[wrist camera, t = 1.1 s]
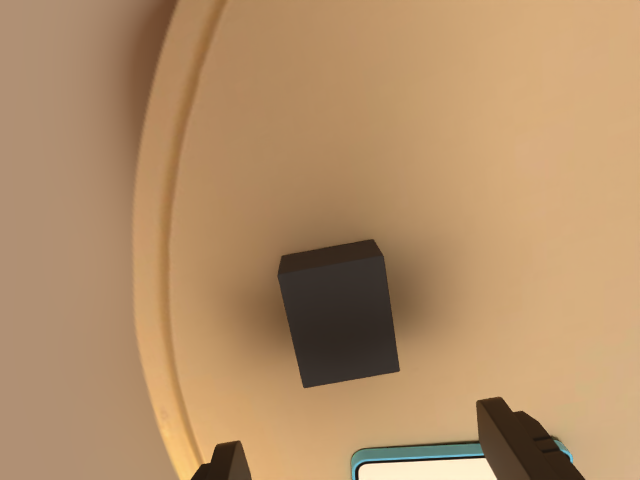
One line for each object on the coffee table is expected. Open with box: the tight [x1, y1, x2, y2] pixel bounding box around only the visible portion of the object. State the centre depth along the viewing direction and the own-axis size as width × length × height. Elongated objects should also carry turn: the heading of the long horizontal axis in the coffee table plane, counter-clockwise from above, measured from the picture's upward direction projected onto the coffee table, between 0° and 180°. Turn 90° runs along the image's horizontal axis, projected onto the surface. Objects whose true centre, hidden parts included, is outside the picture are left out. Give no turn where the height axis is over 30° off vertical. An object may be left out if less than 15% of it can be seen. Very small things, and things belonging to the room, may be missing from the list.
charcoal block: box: [278, 240, 400, 388], centre depth 21 cm, size 7×6×3 cm
